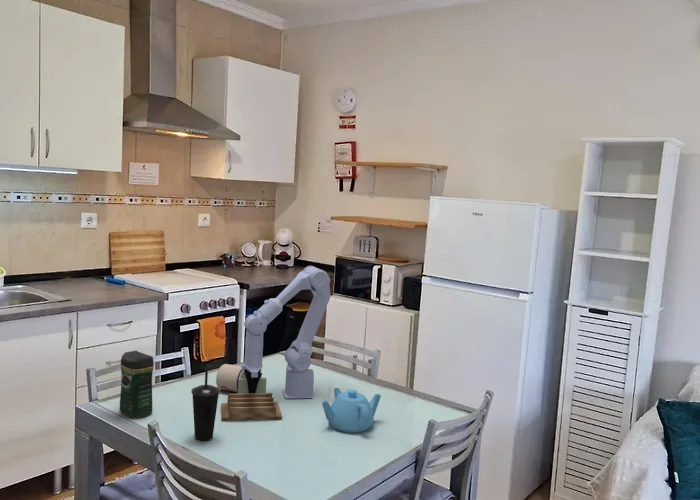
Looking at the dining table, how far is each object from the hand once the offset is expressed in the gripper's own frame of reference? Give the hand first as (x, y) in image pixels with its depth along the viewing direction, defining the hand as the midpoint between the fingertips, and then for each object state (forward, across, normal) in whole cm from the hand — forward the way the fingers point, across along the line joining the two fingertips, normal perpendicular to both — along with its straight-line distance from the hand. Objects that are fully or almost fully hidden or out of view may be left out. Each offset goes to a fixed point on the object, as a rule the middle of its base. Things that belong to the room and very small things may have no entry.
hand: (251, 391), depth 197 cm
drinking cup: (+3, +29, -15) cm, 33 cm away
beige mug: (-2, -11, -9) cm, 14 cm away
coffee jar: (+3, +10, -35) cm, 36 cm away
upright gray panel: (+2, 0, 0) cm, 2 cm away
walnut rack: (+2, +12, -1) cm, 12 cm away
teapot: (+3, +23, +28) cm, 36 cm away
